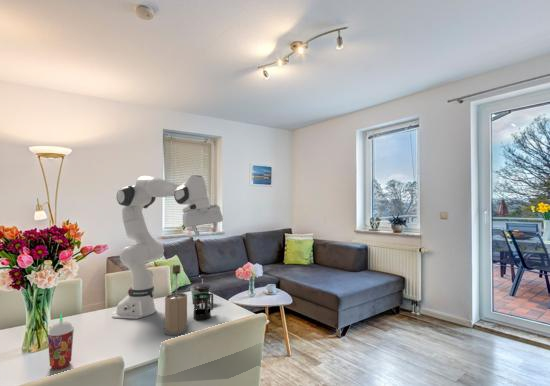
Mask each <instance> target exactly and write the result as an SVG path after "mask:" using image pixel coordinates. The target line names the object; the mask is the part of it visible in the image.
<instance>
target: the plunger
mask: <svg viewBox="0 0 550 386" xmlns="http://www.w3.org/2000/svg"><path fill="white" fill-rule="evenodd" d="M172 274H173V275H175V278H174V279H175V280H174V281H175V282H174V283H175V286H174V287H175V288H174V289H175V290H174V293H175V295H173V296H170V297H169V299H179V298H182V297H184V296H183V295H177V293H178V274H181V265H180V264H173V265H172Z"/></svg>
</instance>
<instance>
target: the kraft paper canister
mask: <svg viewBox="0 0 550 386" xmlns="http://www.w3.org/2000/svg"><path fill="white" fill-rule="evenodd" d="M173 295H175V292H173V293H170V294H167V295H166V296H165V297H164V329H163V333H164V334H165V336H169V337H177V336H181V335H185V333H188V330H189V327H188V326H189V325H188V294H187V293H184V292H177V295H183V296H184V297H182V298H179V299H169V297H170V296H173Z"/></svg>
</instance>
